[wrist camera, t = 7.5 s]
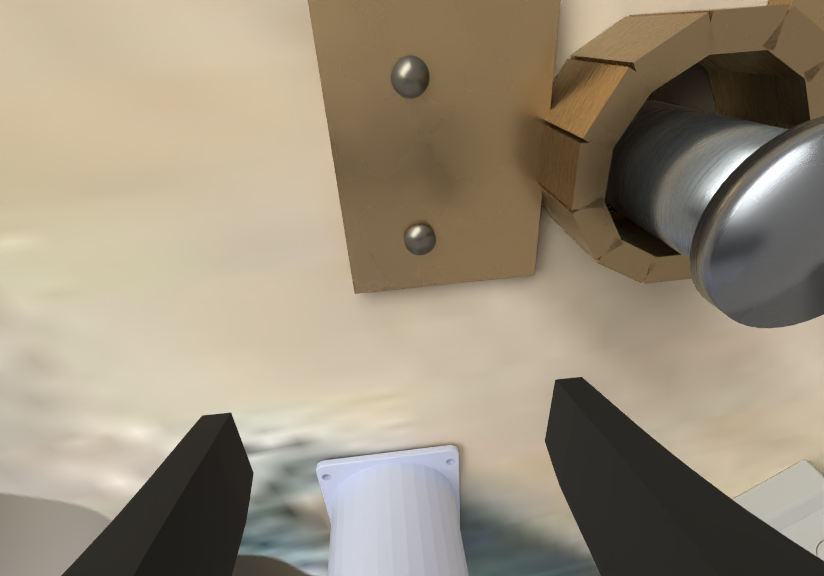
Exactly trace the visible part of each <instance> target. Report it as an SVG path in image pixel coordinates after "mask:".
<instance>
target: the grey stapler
mask: <svg viewBox="0 0 824 576" xmlns="http://www.w3.org/2000/svg"><path fill="white" fill-rule="evenodd" d="M732 500H734V501H735V502H736V503H738V504H739V505H741V506H742V507H743V508H745V509H746V510H748V511H749V512H751V513H752V514H753V515H755V516H756V517H758V518H759V519H761V520H762V521H764V522H765V523H767V524H768V525H770V526H771V527H773V528H774V529H776V530H777V531H779V532H780V533H782V534H783V535H785V536H786V537H788V538H789V539H791V540H792V541H794V542H795V543H797V544H798V545H800V546H801V547H803V548H804V549H806V550H808V551H809V552H811V553H812V554H814V555H815V556H817V557H819V558H820V559H822V560H823V561H824V476H823V475H822V474H821V473H820V472H819V471H818V470H817V469H816V468H815V467H814V466H813V465H812V464H811V463H810V462H809V461H807V460H805V459H804V460H802V461H800V462H799V463H797V464H795V465H793V466H791V467H790V468H788V469H786V470H784V471H782V472H781V473H779V474H777V475H775V476H774V477H772V478H770V479H768V480H766V481H765V482H763V483H761V484H759V485H757V486H756V487H754V488H752V489H750V490H748V491H747V492H745V493H743V494H741V495H740V496H738V497H736V498H734V499H732Z"/></svg>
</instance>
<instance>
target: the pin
mask: <svg viewBox="0 0 824 576" xmlns="http://www.w3.org/2000/svg"><path fill="white" fill-rule="evenodd" d="M604 202H605V203H606V204H608V205H609V206H611V207H612V208H614V209H615V210H617V211H618V212H620V213H621V214H623V215H624V216H626V217H627V218H629V219H630V220H631V221H633V222H634V223H636V224H637V225H639V226H640V227H642V228H643V229H645V230H646V231H648V232H649V233H651V234H652V235H654V236H655V237H657V238H658V239H660V240H661V241H663V242H664V243H666V244H667V245H668V246H670V247H671V248H673V249H674V250H676V251H677V252H679V253H680V254H682V255H683V256H685V257H686V258H688V259H689V262H690V272H691V276H692V280H693V282H694V284H695V286H696V288H697V290H698V291H699V292H700V294H701V295H702V296H703V297H704V298H705V299H706V300H708V301H709V302H710V303H711V304H713V305H714V306H715V307H717V308H718V309H719V310H721V311H722V312H723V313H725V314H726V315H727V316H728V317H730V318H731V319H733V320H735V321H737V322H738V323H741V324H744V325H747V326H751V327H757V328H777V327H784V326H790V325H795V324H798V323H801V322H805V321H808V320H811V319H813V318H816V317H818V316H821V315H823V314H824V116H822V117H819V118H815V119H812V120H809V121H806V122H804V123H802V124H799V125H797V126H795V127H792V128H790V129H784V128H779V127H775V126H770V125H766V124H761V123H757V122H752V121H748V120H743V119H739V118H734V117H729V116H725V115H720V114H716V113H711V112H707V111H702V110H698V109H693V108H689V107H684V106H680V105H675V104H671V103H666V102H662V101H656V100H646V101H645V103H644V104H643V105H642V107H641V108H640V110H639V111H638V113H637V114H636V116H635V117H634V119H633V120H632V121H631V123H630V124H629V126H628V127H627V129H626V130H625V132H624V133H623V134H622V136H621V137H620V139H619V140H618V142H617V143H616V145H615V146H614V148H613V154H612V159H611V165H610V171H609V177H608V182H607V188H606V194H605V199H604Z"/></svg>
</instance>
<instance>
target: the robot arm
mask: <svg viewBox="0 0 824 576" xmlns="http://www.w3.org/2000/svg"><path fill="white" fill-rule="evenodd" d="M545 443H546V446H547V449H548V452H549V455H550V458H551V461H552V465H553V467H554V470H555V473H556V476H557V479H558V482H559V485H560V487H561V489H562V492H563V494H564V496H565V498H566V500H567V503H568V505H569V507H570V509H571V511H572V514H573V516H574V518H575V520H576V522H577V524H578V527H579V529H580V531H581V533H582V535H583V537H584V539H585V542H586V544H587V546H588V548H589V550H590V552H591V554H592V557H593V559H594V561H595V563H596V565H597V567H598V570H599V572H600V574H601V576H824V561H823V560H822V559H820V558H819V557H817V556H815V555H814V554H812V553H811V552H809V551H808V550H806V549H804V548H803V547H801V546H800V545H798V544H797V543H795V542H794V541H792V540H791V539H789V538H788V537H786V536H785V535H783V534H782V533H780V532H779V531H777V530H776V529H774V528H773V527H771V526H770V525H768V524H767V523H765V522H764V521H762V520H761V519H759V518H758V517H756V516H755V515H753V514H752V513H751V512H749V511H748V510H746V509H745V508H743V507H742V506H741V505H739V504H738V503H736V502H735V501H734V500H732V499H731V498H729V497H728V496H727V495H725V494H724V493H723V492H721V491H720V490H719V489H717V488H716V487H715V486H713V485H712V484H711V483H709V482H708V481H707V480H705V479H704V478H703V477H701V476H700V475H699V474H697V473H696V472H695V471H693V470H692V469H691V468H689V467H688V466H687V465H686V464H684V463H683V462H682V461H681V460H679V459H678V458H677V457H675V456H674V455H673V454H672V453H670V452H669V451H668V450H667V449H666V448H664V447H663V446H662V445H661V444H659V443H658V442H657V441H656V440H655V439H653V438H652V437H651V436H650V435H648V434H647V433H646V432H645V431H644V430H643V429H641V428H640V427H639V426H638V425H637V424H635V423H634V422H633V421H632V420H631V419H630V418H628V417H627V416H626V415H625V414H624V413H623V412H621V411H620V410H619V409H618V408H617V407H616V406H615V405H613V404H612V403H611V402H610V401H609V400H608V399H606V398H605V397H604V396H603V395H602V394H601V393H600V392H598V391H597V390H596V389H595V388H594V387H593V386H592V385H590V384H589V383H588V382H587V381H586V380H585V379H583V378H582V377H577V378H567V379H558V380H555V385H554V391H553V397H552V403H551V408H550V414H549V420H548V426H547V432H546V438H545ZM316 473H317V477H318V480H319V483H320V487H321V490H322V494H323V497H324V501H325V504H326V508H327V511H328V515H329V518H330V522H331V535H330V550H329V564H328V576H469V574H468V569H467V563H466V558H465V553H464V548H463V542H462V537H461V532H460V494H459V452H458V448H457V447H456V446H453V445H445V446H437V447H429V448H421V449H412V450H404V451H396V452H388V453H380V454H372V455H364V456H355V457H347V458H339V459H331V460H324V461H321V462H319V463H318V464H317V468H316ZM252 480H253V471H252V468H251V465H250V462H249V460H248V457H247V454H246V452H245V449H244V446H243V444H242V441H241V438H240V435H239V433H238V430H237V427H236V425H235V422H234V419H233V417H232V414H231V413H224V414H214V415H204V416H202V417H201V418H200V419H199V420H198V421H197V422H196V424H195V425H194V426H193V427H192V428H191V429H190V431H189V432H188V433H187V434H186V435H185V437H184V438H183V439H182V440H181V441H180V443H179V444H178V445H177V446H176V447H175V449H174V450H173V451H172V452H171V453H170V455H169V456H168V457H167V458H166V459H165V461H164V462H163V463H162V464H161V465H160V466H159V468H158V469H157V470H156V471H155V472H154V474H153V475H152V476H151V477H150V478H149V480H148V481H147V482H146V483H145V484H144V485H143V486H142V488H141V489H140V490H139V491H138V492H137V493H136V495H135V496H134V497H133V498H132V499H131V500H130V501H129V503H128V504H127V505H126V506H125V507H124V508H123V510H122V511H121V512H120V513H119V514H118V515H117V516H116V517H115V519H114V520H113V521H112V522H111V523H110V524H109V525H108V526H107V527H106V528H105V530H104V531H103V532H102V533H101V534H100V535H99V536H98V537H97V538H96V539H95V540H94V541H93V543H92V544H91V545H90V546H89V547H88V548H87V549H86V550H85V551H84V552H83V553H82V554H81V555H80V556H79V558H78V559H77V560H76V561H75V562H74V563H73V564H72V565H71V566H70V567H69V568H68V569H67V570H66V571H65V572H64V573H63V574H62V575H61V576H232V572H233V568H234V565H235V561H236V558H237V554H238V550H239V546H240V543H241V539H242V535H243V531H244V527H245V524H246V519H247V513H248V507H249V501H250V494H251V487H252Z"/></svg>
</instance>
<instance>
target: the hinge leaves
mask: <svg viewBox="0 0 824 576" xmlns="http://www.w3.org/2000/svg"><path fill="white" fill-rule="evenodd" d="M560 1H561V0H308V4H309V10H310V17H311V23H312V29H313V35H314V42H315V48H316V54H317V60H318V67H319V73H320V79H321V85H322V92H323V98H324V104H325V111H326V117H327V123H328V129H329V136H330V142H331V148H332V154H333V161H334V167H335V173H336V179H337V186H338V192H339V198H340V204H341V211H342V217H343V223H344V229H345V236H346V242H347V248H348V254H349V261H350V267H351V273H352V280H353V286H354V292H355V294H357V293H366V292H376V291H385V290H395V289H404V288H414V287H423V286H433V285H442V284H452V283H461V282H471V281H480V280H490V279H499V278H509V277H518V276H528V275H534V274H535V263H536V253H537V242H538V232H539V221H540V211H541V200H542V201H543V203H544V205H545V207H546V209H547V211H548V212H549V214H550V216H551V217H552V218H553V219H554V220H555V221H556V222H557V223H558V224H559V225H560V226H561V227H562V228H563V229H564V230H565V231H566V232H567V233H568V234H569V235H570V236H571V237H572V238H573V239H574V240H575V241H576V242H577V243H578V244H579V245H580V246H581V247H582V248H583V249H584V250H585V251H586V252H587V253H588V254H589V255H590V256H591V257H592V258H593V259H594V260H595V261H596V262H597V263H599V264H601V265H604V266H606V267H608V268H610V269H612V270H614V271H617V272H619V273H621V274H623V275H625V276H627V277H629V278H632V279H634V280H636V281H638V282H640V283H642V281H643V282H644V283H653V282H662V281H672V280H681V279H690V278H692V276H691V272H690V262H689V259H688V258H686V257H685V256H683V255H682V254H680V253H679V252H677V251H676V250H674V249H673V248H671V247H670V246H668V245H667V244H666V243H664V242H663V241H661V240H660V239H658V238H657V237H655V236H654V235H652V234H651V233H649V232H648V231H646V230H645V229H643V228H642V227H640V226H639V225H637V224H636V223H634V222H633V221H631V220H630V219H629V218H627V217H626V216H624V215H623V214H621V213H620V212H616V213H609V211H608V208H607V206H606V204H605V202H604V199H605V194H606V188H607V182H608V177H609V171H610V165H611V159H612V154H613V148H614V146H615V145H616V143H617V142H618V140H619V139H620V137H621V136H622V134H623V133H624V132H625V130H626V129H627V127H628V126H629V124H630V123H631V121H632V120H633V119H634V117H635V116H636V114H637V113H638V111H639V110H640V108H641V107H642V105H643V104H644V103H645V101H646V100H647V98H648V97H649V95H650V94H651V92H653V91H654V90H656V89H657V88H659V87H661V86H662V85H664V84H665V83H667V82H668V81H670V80H671V79H673V78H674V77H676V76H677V75H679V74H681V73H682V72H684V71H685V70H687V69H688V68H690V67H691V66H693V65H694V64H696V63H697V62H698V63H699V64H701V65H702V66H704V67H705V68H706V69H707V73H708V77H709V81H710V85H711V89H712V93H713V97H714V101H715V105H716V111H715V113H716V114H720V115H725V116H729V117H734V118H739V119H743V120H748V121H752V122H757V123H761V124H766V125H770V126H775V127H779V128H784V129H790V128H792V127H795V126H797V125H799V124H802V123H804V122H806V121H809V120H812V119H815V118H819V117H822V116H824V0H769V3H768V6H755V7H740V8H724V9H709V10H694V11H680V12H667V13H654V14H641V15H630V16H629V17H625V18H623V19H622V20H620V21H619V22H618V23H616V24H615V25H613V26H612V27H610V28H609V29H608V30H606V31H605V32H603V33H602V34H600V35H599V36H598V37H596V38H595V39H593V40H592V41H590V42H589V43H588V44H586V45H585V46H583V47H582V48H580V49H579V50H578V51H576V52H575V53H573V54H572V55H571V58H572V59H567V60H566V62H565V64H564V66H563V67H562V69H561V71H560V72H559V74H558V76H557V78H556V79H555V81H554V83H553V74H554V64H555V54H556V43H557V33H558V22H559V12H560Z"/></svg>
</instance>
